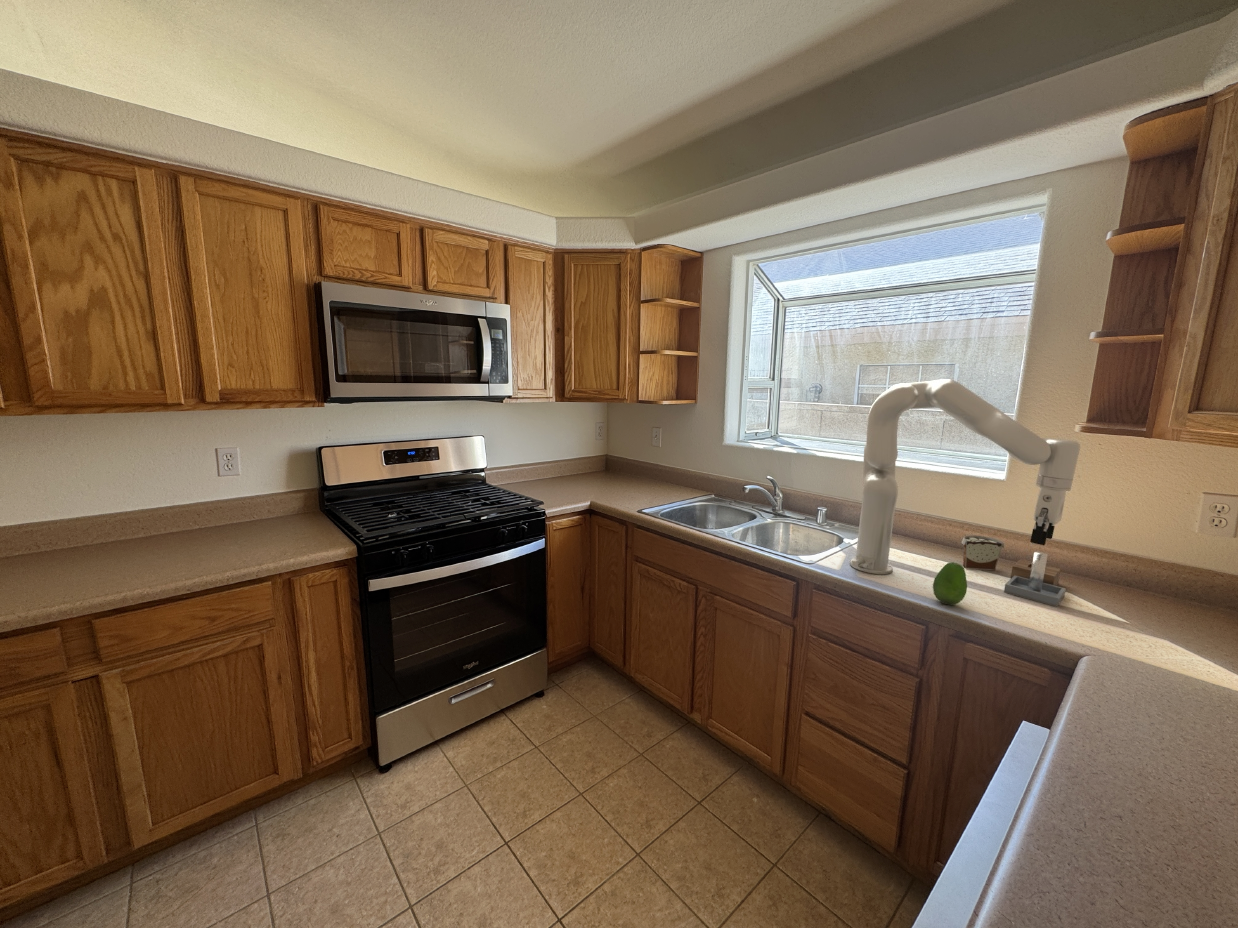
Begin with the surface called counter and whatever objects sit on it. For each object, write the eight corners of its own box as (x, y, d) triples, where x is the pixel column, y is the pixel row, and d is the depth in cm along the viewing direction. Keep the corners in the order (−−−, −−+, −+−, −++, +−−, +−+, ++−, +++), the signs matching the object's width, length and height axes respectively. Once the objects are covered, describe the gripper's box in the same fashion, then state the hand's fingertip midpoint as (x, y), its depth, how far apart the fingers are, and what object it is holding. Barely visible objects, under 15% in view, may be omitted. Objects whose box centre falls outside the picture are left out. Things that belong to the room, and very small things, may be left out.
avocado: (968, 611, 133) (974, 569, 131) (934, 606, 135) (940, 564, 133) (959, 599, 140) (965, 559, 138) (927, 594, 143) (933, 555, 141)
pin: (1039, 595, 143) (1046, 555, 141) (1026, 591, 145) (1033, 553, 143) (1041, 592, 145) (1048, 553, 143) (1028, 589, 147) (1035, 550, 145)
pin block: (1051, 592, 147) (1054, 576, 146) (1010, 581, 155) (1012, 565, 154) (1058, 583, 153) (1061, 568, 153) (1017, 573, 161) (1020, 559, 160)
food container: (988, 563, 169) (992, 535, 168) (1000, 570, 163) (1005, 541, 162) (950, 561, 171) (954, 533, 169) (960, 568, 165) (965, 539, 163)
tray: (1056, 606, 137) (1058, 598, 137) (1003, 592, 146) (1005, 584, 146) (1064, 596, 144) (1065, 588, 144) (1013, 582, 153) (1014, 575, 153)
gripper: (1065, 489, 131) (1052, 550, 134) (1076, 482, 142) (1063, 539, 145) (1030, 483, 137) (1017, 542, 140) (1043, 477, 148) (1031, 531, 151)
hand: (1041, 540), depth 143 cm, fingers open, 9 cm apart
